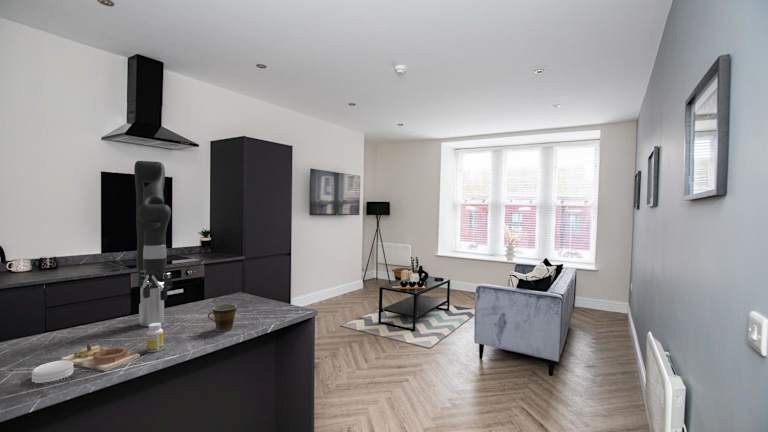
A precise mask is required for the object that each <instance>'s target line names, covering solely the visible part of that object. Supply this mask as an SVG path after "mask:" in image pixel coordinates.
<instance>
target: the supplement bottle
mask: <svg viewBox="0 0 768 432" xmlns="http://www.w3.org/2000/svg"><path fill="white" fill-rule="evenodd" d="M163 349H164V329H163V328H162V324H161V323H152V324H150V325H149V326H148V330H147V331H146V351H147V352H149V353H155V352H159V351H161V350H163Z"/></svg>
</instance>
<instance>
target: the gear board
mask: <svg viewBox="0 0 768 432" xmlns="http://www.w3.org/2000/svg"><path fill="white" fill-rule="evenodd" d="M128 350H129V348H128V347H122V346H115V347H105V346H102V345H95V346H94V345H93V346H92V343H91V342H89V343H86V347H85V348H84V347H83V348H79V350H78V351H74V352H73V353H72V354H69V355H66V356H63V357H61V358H60V361H62V360H68V361H72V362H73V365H76V366H80V367H84V368H90V369H93V370H98V371H102V370H103V371H104V372H108V371H110V370H112V369H115V368H117V367H119V366H123V365H124V364H126V363H128V362H131V361H134V360H137V359H138V358H139V359H140V357H141V356H140V355H141V354H140V353H138V352H137V353H136V352H133V351H128ZM103 371H102V372H103Z"/></svg>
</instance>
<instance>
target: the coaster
mask: <svg viewBox="0 0 768 432" xmlns="http://www.w3.org/2000/svg"><path fill="white" fill-rule="evenodd" d="M73 373H74V364H73V362H72V361H68V360H62V361H61V360H57V361H51V362H46V363H44V364H41V365H38V366H37V367H35V368H33V369H32V371H31V382H32V383H33V382H35V383H34V384H36V383H42V382H50V381H55V380H58V381H60V380H59V379H61V380H63V379H62V378H64V379H65V377H66V378H68V377H70V376H72V375H73ZM55 382H56V381H55ZM50 383H51V382H50Z"/></svg>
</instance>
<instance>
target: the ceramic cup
mask: <svg viewBox="0 0 768 432" xmlns="http://www.w3.org/2000/svg"><path fill="white" fill-rule="evenodd" d="M211 309H212V311H210V312H209V313H208V314H207V317H208V319H209V320H211V321H212V322H214V324H215V331H217V332H221V333H222V332H229V331H232V330H233V328H234V322H235V319H236V318H235V317H236V313H237V309H238V306H237V305H236V304H232V303H226V304H225V303H224V304H218V305H216V306H213V307H212V308H211ZM211 314H212V315H213V318H211V317H210V316H211Z"/></svg>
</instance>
